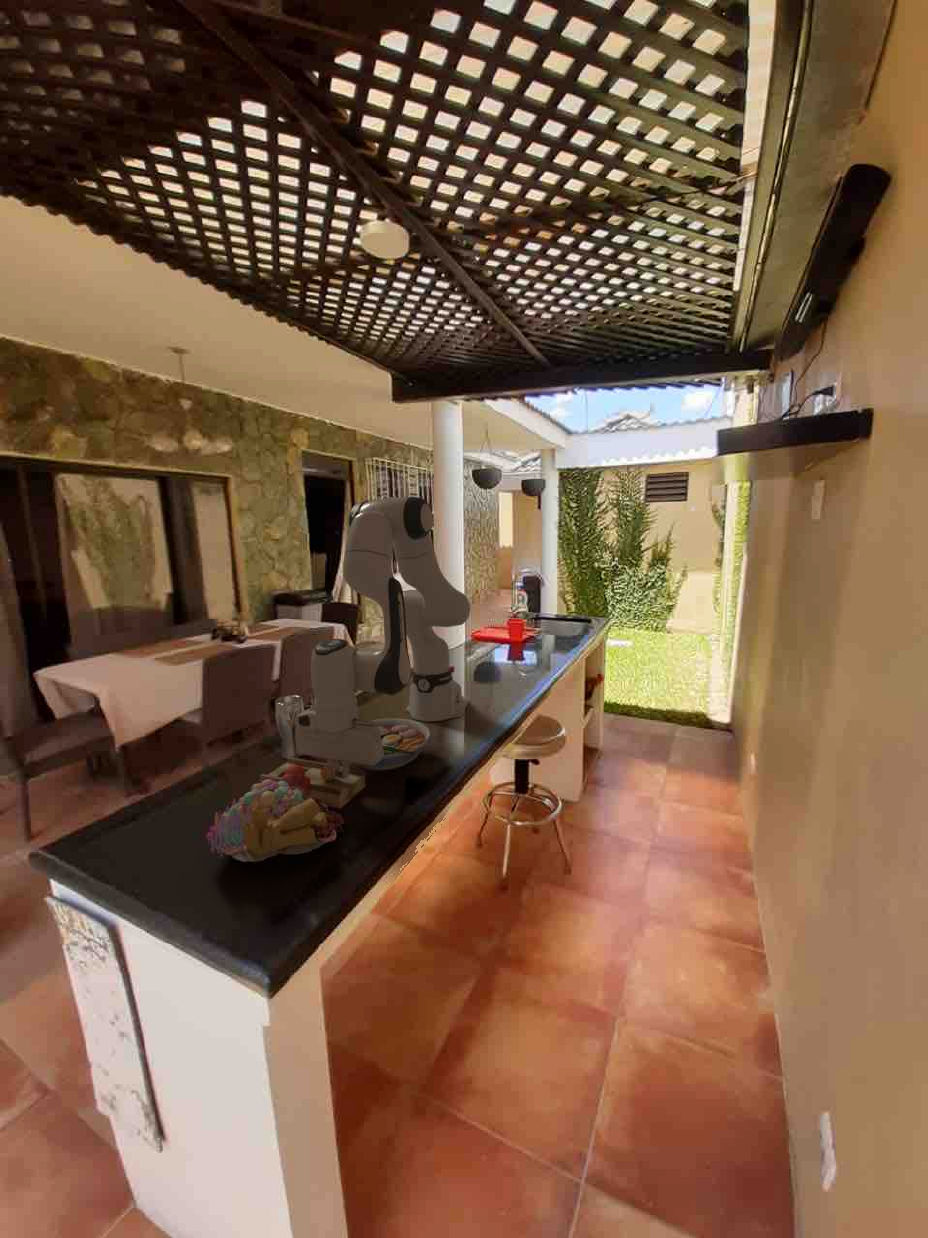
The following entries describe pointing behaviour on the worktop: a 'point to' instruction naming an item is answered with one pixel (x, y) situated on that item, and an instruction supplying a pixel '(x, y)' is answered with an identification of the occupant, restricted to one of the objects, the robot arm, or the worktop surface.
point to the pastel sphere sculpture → (274, 821)
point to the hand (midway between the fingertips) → (341, 776)
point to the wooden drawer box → (323, 782)
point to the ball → (327, 773)
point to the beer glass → (288, 723)
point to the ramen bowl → (399, 742)
